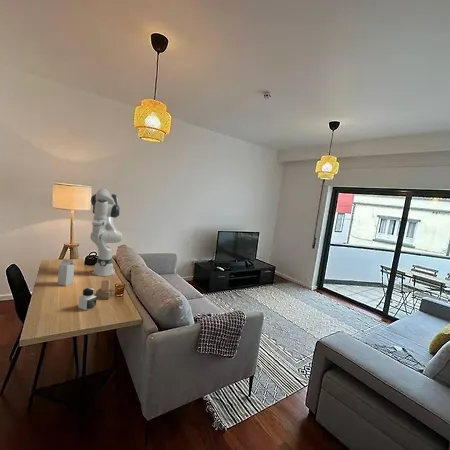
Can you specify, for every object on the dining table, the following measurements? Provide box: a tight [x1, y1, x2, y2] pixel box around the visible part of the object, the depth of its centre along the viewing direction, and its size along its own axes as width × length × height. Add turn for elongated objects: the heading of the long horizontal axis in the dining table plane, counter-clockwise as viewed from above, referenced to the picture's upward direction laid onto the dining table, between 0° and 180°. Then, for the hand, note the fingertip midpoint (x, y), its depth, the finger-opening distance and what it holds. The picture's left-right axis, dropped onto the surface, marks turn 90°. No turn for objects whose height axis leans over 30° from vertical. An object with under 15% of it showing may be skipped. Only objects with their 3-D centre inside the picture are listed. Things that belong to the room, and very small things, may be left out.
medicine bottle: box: [77, 287, 98, 311], centre depth 162 cm, size 7×7×12 cm
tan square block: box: [95, 287, 115, 301], centre depth 182 cm, size 9×9×5 cm
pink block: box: [100, 278, 111, 292], centre depth 181 cm, size 5×5×8 cm
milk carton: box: [57, 258, 75, 287], centre depth 194 cm, size 7×7×19 cm
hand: (98, 240), depth 188 cm, fingers open, 8 cm apart
